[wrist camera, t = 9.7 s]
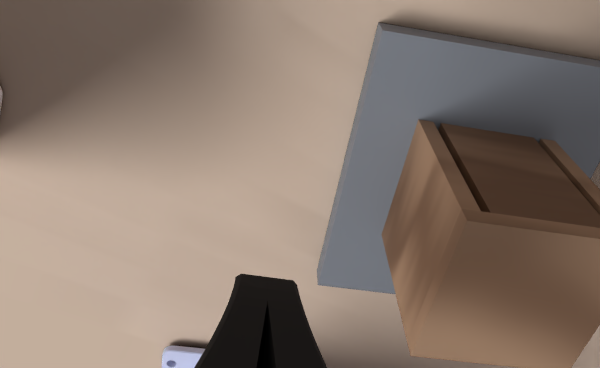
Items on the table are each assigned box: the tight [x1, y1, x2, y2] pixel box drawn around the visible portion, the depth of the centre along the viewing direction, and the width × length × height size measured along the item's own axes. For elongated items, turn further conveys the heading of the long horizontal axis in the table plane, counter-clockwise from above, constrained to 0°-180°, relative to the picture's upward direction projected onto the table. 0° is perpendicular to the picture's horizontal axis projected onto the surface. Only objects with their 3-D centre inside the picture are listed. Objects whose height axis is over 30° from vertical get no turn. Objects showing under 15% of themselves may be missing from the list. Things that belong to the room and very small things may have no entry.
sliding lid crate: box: [382, 119, 600, 368], centre depth 19 cm, size 6×6×7 cm
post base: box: [317, 22, 600, 294], centre depth 21 cm, size 12×10×5 cm
